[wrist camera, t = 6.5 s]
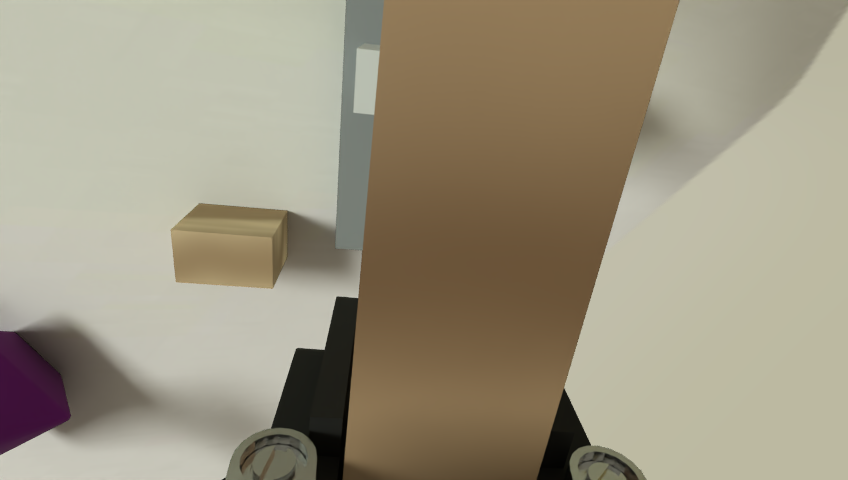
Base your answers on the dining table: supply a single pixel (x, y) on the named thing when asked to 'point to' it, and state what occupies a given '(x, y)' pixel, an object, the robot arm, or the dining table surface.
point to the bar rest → (230, 246)
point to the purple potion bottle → (27, 393)
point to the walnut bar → (488, 223)
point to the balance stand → (357, 118)
